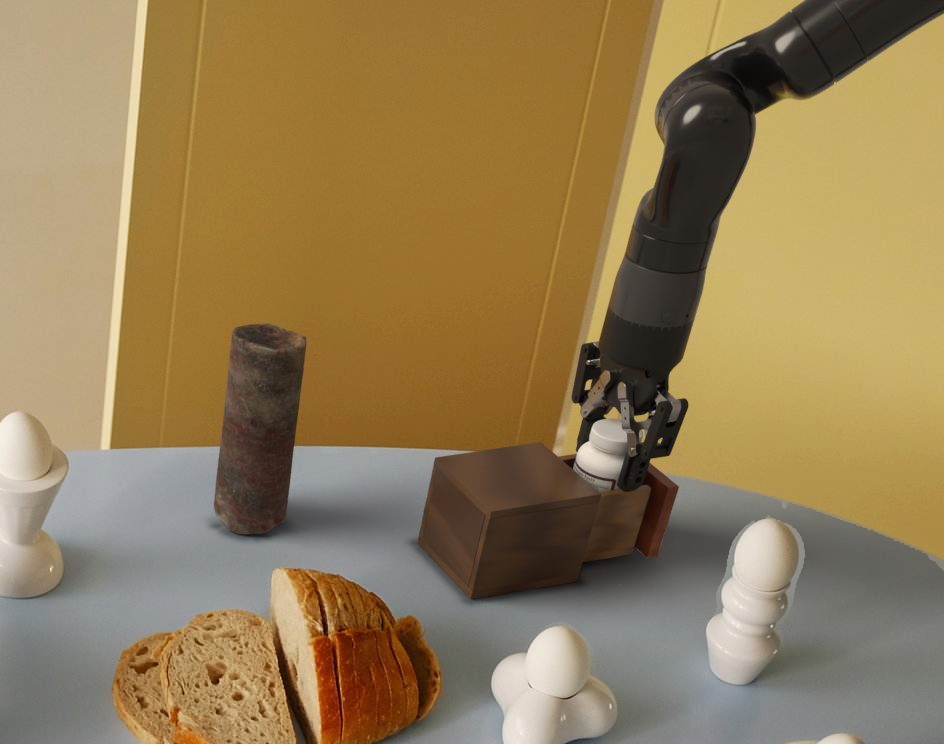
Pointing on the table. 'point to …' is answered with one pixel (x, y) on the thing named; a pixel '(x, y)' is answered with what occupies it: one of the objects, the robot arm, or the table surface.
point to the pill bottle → (603, 455)
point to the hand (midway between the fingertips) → (606, 469)
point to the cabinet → (507, 519)
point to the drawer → (631, 517)
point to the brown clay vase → (259, 427)
